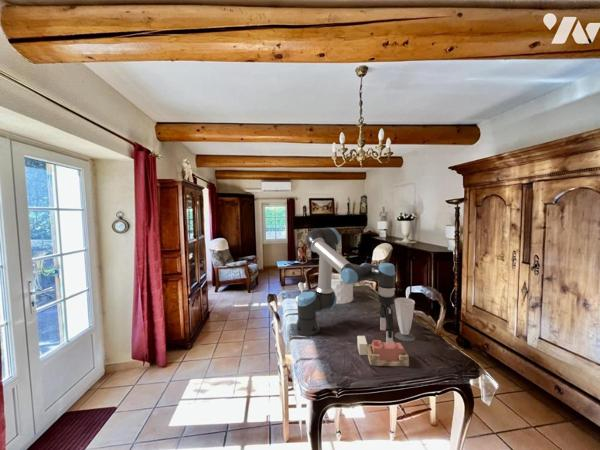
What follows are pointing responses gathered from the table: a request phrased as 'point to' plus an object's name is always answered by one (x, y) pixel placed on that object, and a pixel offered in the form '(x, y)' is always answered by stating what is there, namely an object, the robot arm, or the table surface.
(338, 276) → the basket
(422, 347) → the table surface
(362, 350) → the white block
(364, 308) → the table surface
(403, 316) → the cup
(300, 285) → the potted plant
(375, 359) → the cradle
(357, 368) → the table surface
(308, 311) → the robot arm
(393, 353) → the red notched block
